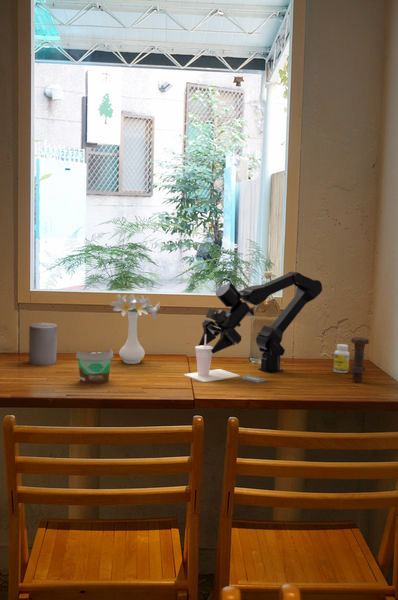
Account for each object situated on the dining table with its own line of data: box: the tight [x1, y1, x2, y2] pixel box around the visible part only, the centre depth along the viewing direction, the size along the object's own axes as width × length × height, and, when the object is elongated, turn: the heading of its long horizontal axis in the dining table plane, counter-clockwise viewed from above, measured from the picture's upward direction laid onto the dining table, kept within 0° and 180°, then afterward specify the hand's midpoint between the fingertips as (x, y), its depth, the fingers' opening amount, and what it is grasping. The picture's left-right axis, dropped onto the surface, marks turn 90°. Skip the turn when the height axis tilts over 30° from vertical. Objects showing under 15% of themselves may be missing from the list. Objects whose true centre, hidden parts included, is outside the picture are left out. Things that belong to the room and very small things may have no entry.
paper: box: [183, 368, 241, 383], centre depth 226 cm, size 16×11×1 cm
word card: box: [238, 374, 268, 384], centre depth 223 cm, size 5×8×1 cm, turn 48°
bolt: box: [350, 337, 370, 383], centre depth 225 cm, size 6×5×15 cm
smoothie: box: [194, 334, 214, 376], centre depth 224 cm, size 6×6×14 cm
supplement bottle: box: [332, 343, 350, 374], centre depth 240 cm, size 5×5×10 cm
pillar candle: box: [28, 322, 58, 366], centre depth 236 cm, size 10×10×15 cm
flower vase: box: [109, 293, 161, 365], centre depth 241 cm, size 13×18×25 cm
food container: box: [75, 348, 114, 385], centre depth 211 cm, size 12×6×10 cm, turn 117°
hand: (205, 349), depth 224 cm, fingers open, 9 cm apart
